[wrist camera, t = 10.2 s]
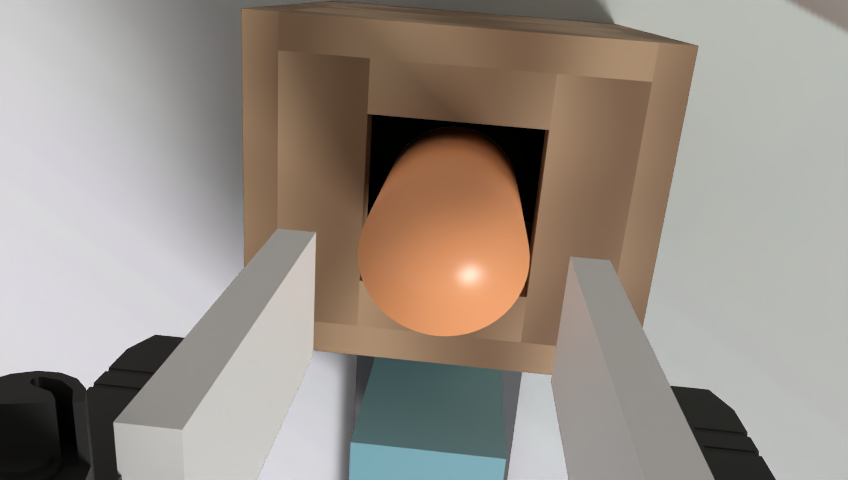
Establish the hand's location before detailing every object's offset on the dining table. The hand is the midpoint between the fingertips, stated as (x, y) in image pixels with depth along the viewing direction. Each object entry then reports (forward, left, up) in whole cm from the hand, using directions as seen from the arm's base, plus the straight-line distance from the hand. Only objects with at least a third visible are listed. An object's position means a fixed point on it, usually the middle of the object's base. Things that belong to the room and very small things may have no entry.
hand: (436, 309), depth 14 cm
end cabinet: (0, 0, -19) cm, 19 cm away
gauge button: (0, 0, -9) cm, 9 cm away
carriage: (0, -11, -17) cm, 21 cm away
